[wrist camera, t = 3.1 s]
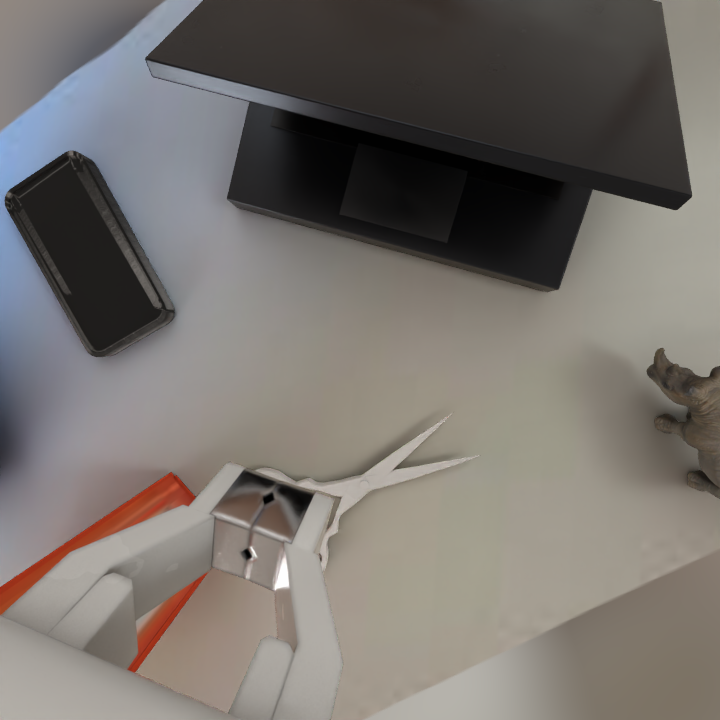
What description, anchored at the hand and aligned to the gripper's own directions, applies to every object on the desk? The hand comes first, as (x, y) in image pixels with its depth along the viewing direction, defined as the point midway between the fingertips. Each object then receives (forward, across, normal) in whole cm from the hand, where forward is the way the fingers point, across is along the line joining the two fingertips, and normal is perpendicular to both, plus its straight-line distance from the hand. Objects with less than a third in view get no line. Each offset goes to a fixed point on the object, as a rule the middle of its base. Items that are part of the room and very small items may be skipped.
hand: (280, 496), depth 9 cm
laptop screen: (+19, +1, -16) cm, 25 cm away
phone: (+18, +24, +2) cm, 30 cm away
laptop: (+25, +1, -12) cm, 28 cm away
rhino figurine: (+21, -24, +2) cm, 32 cm away
